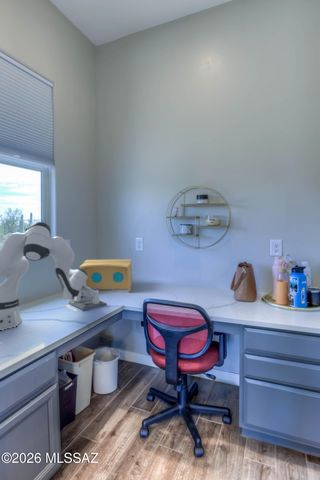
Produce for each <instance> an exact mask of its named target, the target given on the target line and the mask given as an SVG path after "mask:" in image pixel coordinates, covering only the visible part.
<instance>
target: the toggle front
mask: <svg viewBox="0 0 320 480" xmlns="http://www.w3.org/2000/svg"><path fill="white" fill-rule="evenodd" d="M92 290H93V291H95V292H96V293H97V294H96V296H95V297H94V298H92V303H93V304H99V300H100V296H99V295H100V290H99V288H97V287H94V288H92Z"/></svg>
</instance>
